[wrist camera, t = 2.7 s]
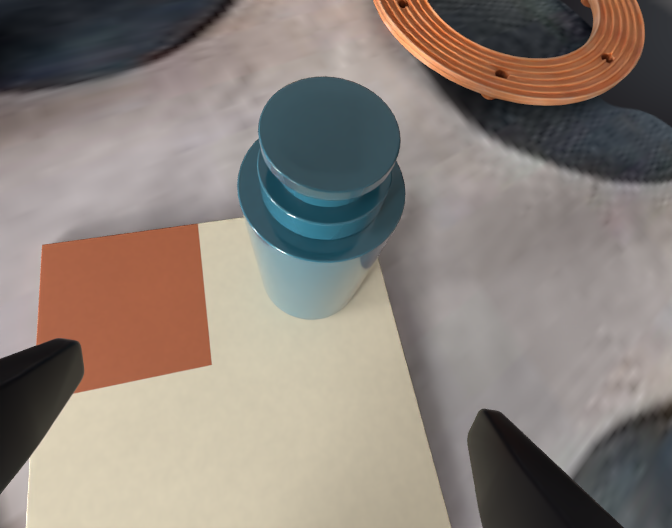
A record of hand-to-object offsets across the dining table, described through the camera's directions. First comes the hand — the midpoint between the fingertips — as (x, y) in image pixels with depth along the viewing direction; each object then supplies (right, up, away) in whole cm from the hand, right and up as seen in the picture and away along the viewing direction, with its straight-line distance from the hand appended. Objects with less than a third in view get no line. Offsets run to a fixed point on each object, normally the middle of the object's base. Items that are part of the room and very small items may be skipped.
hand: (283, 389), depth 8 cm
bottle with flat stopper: (0, +2, +14) cm, 15 cm away
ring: (+17, +27, +26) cm, 41 cm away
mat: (-5, -4, +12) cm, 13 cm away
